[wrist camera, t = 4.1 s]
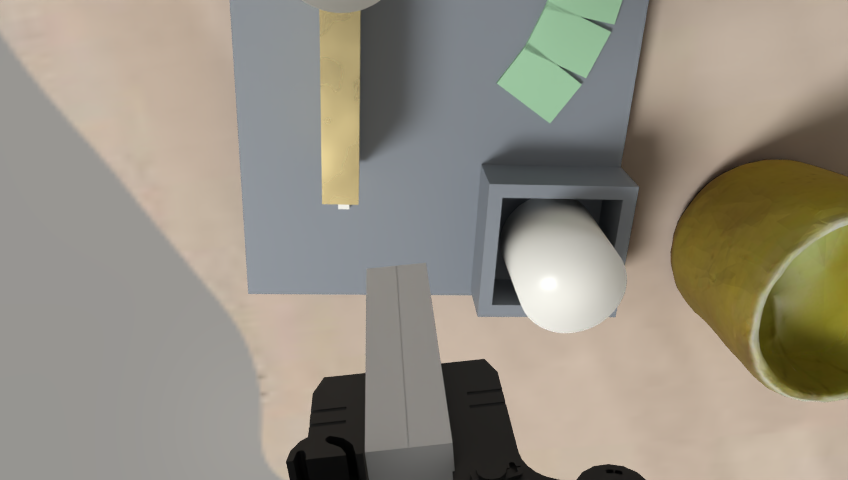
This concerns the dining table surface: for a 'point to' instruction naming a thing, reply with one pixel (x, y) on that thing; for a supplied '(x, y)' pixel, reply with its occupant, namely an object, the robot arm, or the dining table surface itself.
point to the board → (433, 137)
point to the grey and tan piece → (340, 97)
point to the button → (562, 265)
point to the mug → (772, 273)
